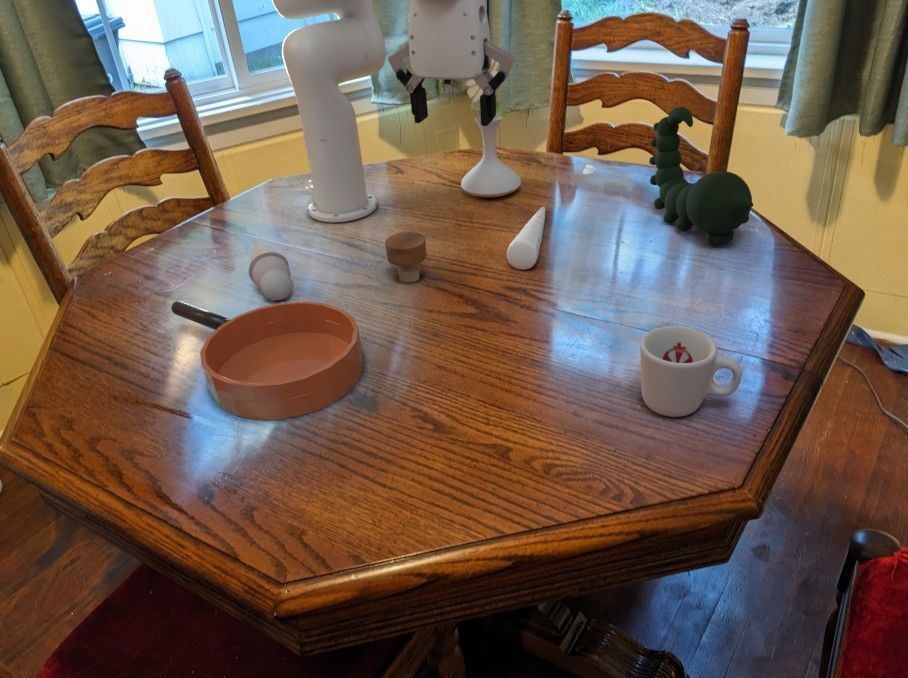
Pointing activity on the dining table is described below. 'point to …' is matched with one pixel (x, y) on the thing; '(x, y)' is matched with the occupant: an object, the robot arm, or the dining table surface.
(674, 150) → the toy figurine
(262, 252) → the ice cream cone
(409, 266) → the mushroom
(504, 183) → the flower in vase
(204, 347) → the pan
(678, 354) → the cup
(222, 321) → the pan handle
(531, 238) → the unicorn horn
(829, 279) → the dining table surface
